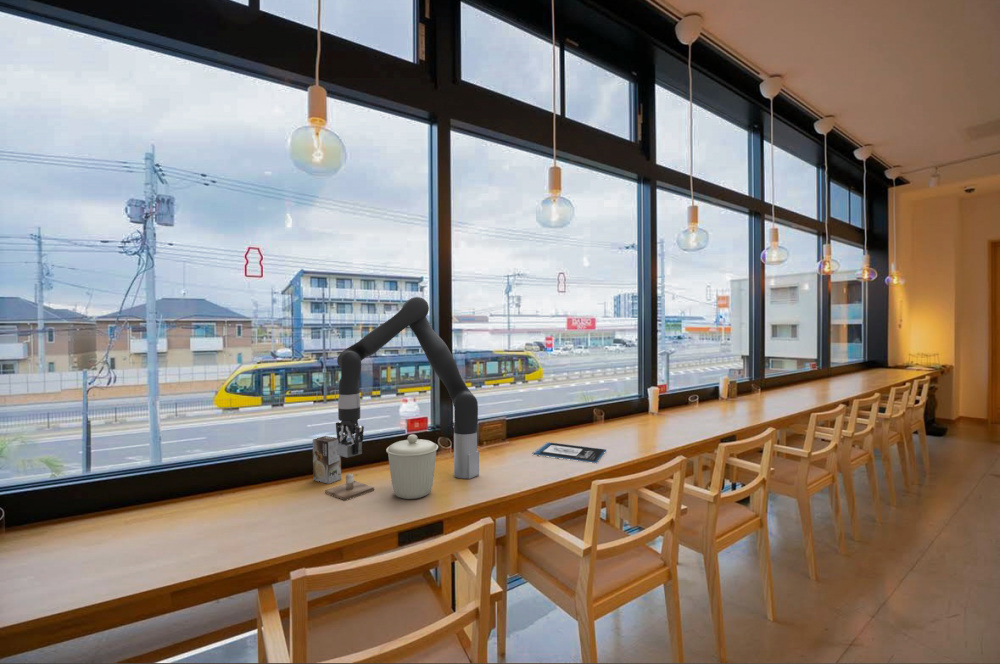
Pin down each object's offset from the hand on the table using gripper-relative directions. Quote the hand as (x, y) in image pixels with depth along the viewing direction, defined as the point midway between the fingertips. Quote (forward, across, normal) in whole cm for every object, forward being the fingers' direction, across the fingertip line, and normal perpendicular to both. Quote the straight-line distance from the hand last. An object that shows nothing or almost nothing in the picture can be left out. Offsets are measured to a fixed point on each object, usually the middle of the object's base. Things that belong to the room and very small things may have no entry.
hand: (349, 452), depth 156 cm
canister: (+14, -20, -12) cm, 27 cm away
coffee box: (+14, +18, -2) cm, 23 cm away
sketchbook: (+15, -41, -90) cm, 100 cm away
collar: (+1, 0, 0) cm, 1 cm away
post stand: (+14, 0, 0) cm, 14 cm away
